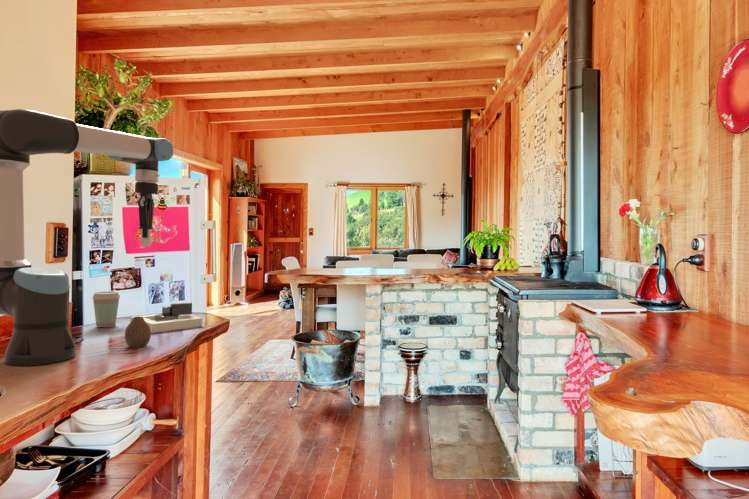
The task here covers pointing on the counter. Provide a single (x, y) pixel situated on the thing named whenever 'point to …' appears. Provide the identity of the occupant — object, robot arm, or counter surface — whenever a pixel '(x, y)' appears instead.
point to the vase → (137, 333)
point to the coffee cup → (106, 308)
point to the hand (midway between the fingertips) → (145, 246)
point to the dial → (174, 311)
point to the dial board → (171, 323)
